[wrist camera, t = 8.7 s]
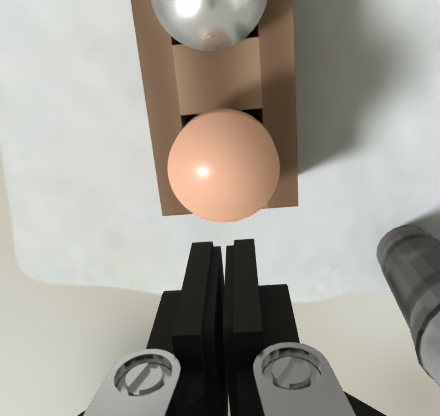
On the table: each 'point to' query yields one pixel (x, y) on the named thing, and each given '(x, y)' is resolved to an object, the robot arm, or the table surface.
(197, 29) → the steel plug
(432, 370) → the beverage cup
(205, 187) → the peach domed piece
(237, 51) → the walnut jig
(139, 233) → the table surface
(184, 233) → the table surface
